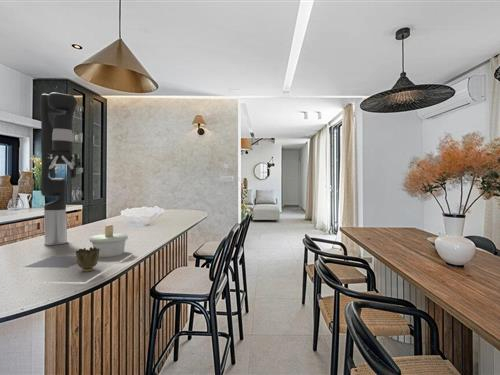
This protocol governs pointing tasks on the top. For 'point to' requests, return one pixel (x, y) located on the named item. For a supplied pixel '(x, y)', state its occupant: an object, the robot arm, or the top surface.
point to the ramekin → (110, 248)
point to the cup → (87, 258)
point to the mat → (56, 262)
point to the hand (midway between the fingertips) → (62, 178)
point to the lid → (108, 236)
